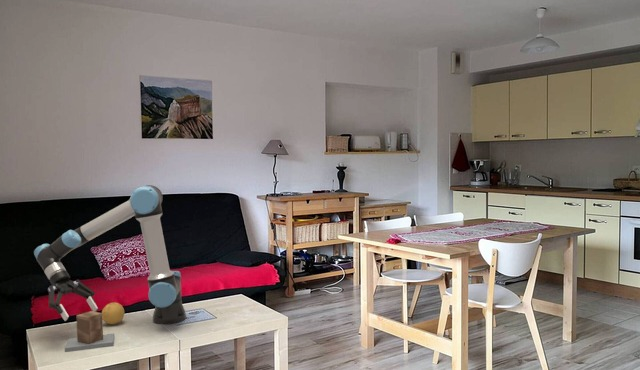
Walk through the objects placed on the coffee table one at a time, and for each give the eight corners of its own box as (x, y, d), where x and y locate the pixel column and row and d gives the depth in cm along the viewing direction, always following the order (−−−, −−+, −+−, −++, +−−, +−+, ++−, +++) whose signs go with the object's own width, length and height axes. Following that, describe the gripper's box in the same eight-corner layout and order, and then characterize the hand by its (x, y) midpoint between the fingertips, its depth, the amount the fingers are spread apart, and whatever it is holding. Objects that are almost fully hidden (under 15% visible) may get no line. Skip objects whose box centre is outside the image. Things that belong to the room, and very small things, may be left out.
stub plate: (114, 336, 230) (113, 318, 230) (113, 345, 219) (112, 326, 219) (68, 342, 224) (67, 323, 224) (65, 351, 213) (64, 332, 213)
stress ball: (123, 319, 255) (123, 298, 255) (125, 325, 247) (125, 303, 246) (101, 322, 251) (100, 301, 251) (102, 328, 242) (101, 306, 242)
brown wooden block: (92, 336, 226) (91, 311, 226) (103, 339, 223) (102, 313, 222) (77, 341, 220) (76, 315, 220) (88, 344, 217) (87, 317, 216)
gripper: (80, 275, 242) (103, 312, 235) (26, 287, 220) (50, 328, 214) (87, 264, 239) (110, 301, 232) (33, 275, 217) (57, 316, 211)
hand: (81, 314), depth 223 cm, fingers open, 13 cm apart
